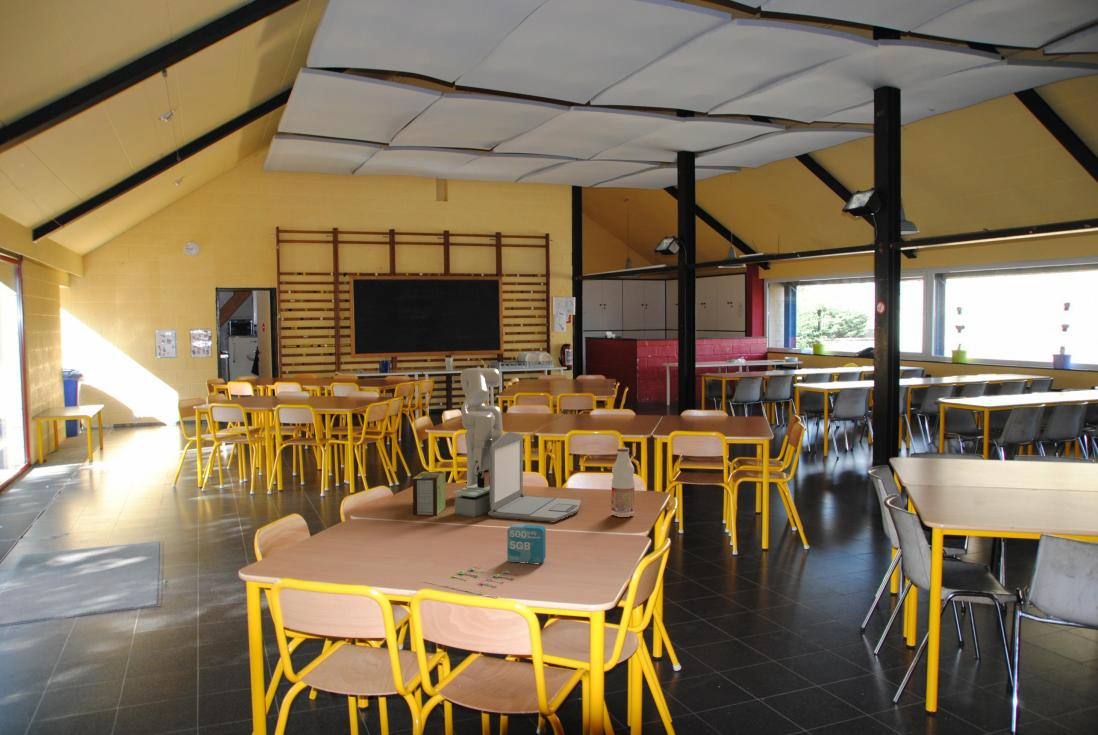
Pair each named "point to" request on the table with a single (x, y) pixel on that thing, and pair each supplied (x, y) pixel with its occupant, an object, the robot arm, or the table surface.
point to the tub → (472, 505)
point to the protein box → (429, 493)
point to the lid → (475, 488)
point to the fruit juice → (622, 484)
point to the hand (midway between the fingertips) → (483, 485)
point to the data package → (526, 543)
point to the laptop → (519, 486)
